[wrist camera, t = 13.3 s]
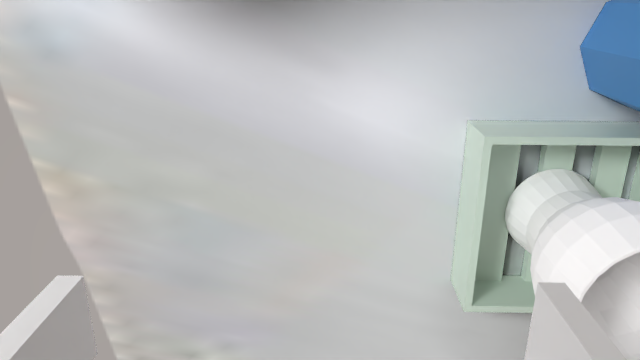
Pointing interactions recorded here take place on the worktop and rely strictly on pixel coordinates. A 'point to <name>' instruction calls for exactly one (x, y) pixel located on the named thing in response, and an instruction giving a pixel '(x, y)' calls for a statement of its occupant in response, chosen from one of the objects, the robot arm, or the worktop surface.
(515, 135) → the dish rack
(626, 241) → the cup
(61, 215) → the worktop surface
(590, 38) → the water bottle
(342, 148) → the worktop surface
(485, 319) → the worktop surface
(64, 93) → the worktop surface
